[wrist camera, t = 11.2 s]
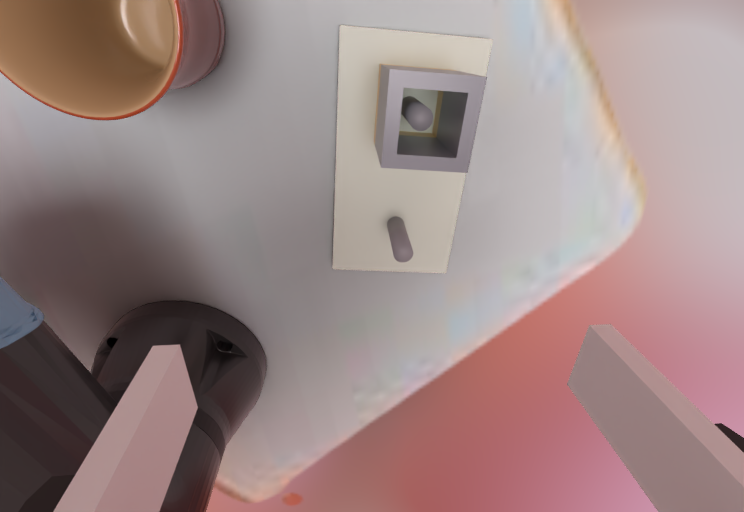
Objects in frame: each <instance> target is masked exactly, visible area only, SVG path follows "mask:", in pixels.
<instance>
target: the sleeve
mask: <svg viewBox="0 0 744 512" xmlns="http://www.w3.org/2000/svg"><path fill="white" fill-rule="evenodd" d="M486 79H487V77H484V76H479V75H475V74H470V73H466V72H461V71H457V70H450V69H438V68H426V67H414V66H402V65H391V64H379V77H378V90H377V103H376V116H375V129H374V144H375V148H376V151H377V155H378V159H379V162H380V166H381V168H393V169H410V170H426V171H443V172H459V173H467V172H468V168H469V163H470V158H471V153H472V148H473V143H474V138H475V133H476V128H477V123H478V118H479V113H480V108H481V104H482V99H483V94H484V89H485V84H486ZM404 88H413V89H426V90H438V97H437V104H436V110H435V117H434V124H433V130H432V133H421V132H407V131H399V128H400V118H401V109H402V100H403V91H404Z"/></svg>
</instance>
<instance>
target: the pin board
mask: <svg viewBox="0 0 744 512" xmlns="http://www.w3.org/2000/svg"><path fill="white" fill-rule="evenodd" d="M492 43H493V39H485V38H475V37H464V36H453V35H442V34H431V33H420V32H410V31H399V30H388V29H377V28H366V27H355V26H345V25H340V34H339V68H338V101H337V134H336V168H335V201H334V235H333V268H332V269H338V270H366V271H393V272H421V273H446V271H447V266H448V261H449V256H450V251H451V246H452V241H453V236H454V231H455V226H456V221H457V216H458V211H459V206H460V201H461V197H462V192H463V187H464V182H465V177H466V173H459V172H443V171H426V170H410V169H393V168H381V166H380V162H379V159H378V155H377V151H376V148H375V144H374V129H375V116H376V103H377V90H378V77H379V64H391V65H402V66H414V67H426V68H438V69H450V70H457V71H461V72H466V73H470V74H475V75H479V76H484V77H486V72H487V68H488V63H489V58H490V53H491V48H492ZM437 97H438V90H426V89H413V88H404V91H403V100H402V109H401V118H400V128H399V131H407V132H421V133H432V130H433V124H434V117H435V110H436V104H437Z"/></svg>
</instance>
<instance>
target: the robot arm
mask: <svg viewBox="0 0 744 512" xmlns="http://www.w3.org/2000/svg"><path fill="white" fill-rule="evenodd" d="M43 319H44V314H43V313H42V312H41V311H40V309H39V308H36V307H35V306H34V305H32V304H30V303H27V302H26V301H25V300H24V299H23V298H22V297H21V296H20V295H19V294H18V293H17V292H16V291H15V290H14V289H13V288H12V287H11V286H10V285H9V284H8V283H6V282H5V281H4V280H3V279H2V278H1V277H0V512H206V510H207V506H208V503H209V500H210V497H211V493H212V490H213V487H214V483H215V480H216V477H217V473H218V470H219V467H220V463H221V460H222V456H223V453H224V450H225V447H226V445H227V443H228V442H229V441H230V439H231V438H232V436H233V435H234V434H235V432H236V431H237V429H238V428H239V426H240V425H241V424H242V422H243V421H244V419H245V418H246V417H247V415H248V414H249V412H250V411H251V409H252V408H253V406H254V405H255V404H256V402H257V400H258V398H259V396H260V393H261V390H262V387H263V383H264V379H265V374H266V359H265V355H264V352H263V349H262V347H261V345H260V344H259V342H258V340H257V339H256V338H255V336H254V335H253V334H252V333H251V332H250V331H249V330H248V329H247V328H246V327H245V326H244V325H242V324H241V323H240V322H239V321H237V320H236V319H234V318H233V317H231V316H229V315H227V314H225V313H223V312H221V311H219V310H216V309H214V308H211V307H208V306H205V305H201V304H196V303H191V302H183V301H163V302H156V303H151V304H147V305H144V306H141V307H138V308H136V309H134V310H132V311H130V312H129V313H127V314H126V315H124V316H123V317H122V318H121V319H120V320H119V321H118V322H117V323H116V324H115V325H114V327H113V328H112V329H111V330H110V331H109V333H108V334H107V335H106V336H105V337H104V339H103V340H102V342H101V344H100V346H99V348H98V350H97V353H96V356H95V359H94V363H93V366H92V369H91V373H90V372H89V371H88V370H87V369H86V368H85V366H84V365H83V364H82V363H81V362H80V361H79V360H78V359H77V357H76V356H75V355H74V354H73V353H72V352H71V351H70V350H69V348H68V347H67V346H66V345H65V344H64V343H63V342H62V341H61V339H60V338H59V337H58V336H57V335H56V334H55V333H54V332H53V330H52V329H51V328H50V327H49V326H48V325H47V324H46V323H45V321H44V320H43ZM567 385H568V386H569V387H570V389H571V390H572V392H573V393H574V395H575V396H576V397H577V399H578V400H579V401H580V403H581V404H582V406H583V407H584V408H585V410H586V411H587V413H588V414H589V416H590V417H591V418H592V420H593V421H594V423H595V424H596V425H597V427H598V428H599V429H600V431H601V432H602V434H603V435H604V436H605V438H606V439H607V441H608V442H609V444H610V445H611V446H612V448H613V449H614V450H615V452H616V453H617V455H618V456H619V457H620V459H621V460H622V462H623V463H624V464H625V466H626V467H627V469H628V470H629V471H630V473H631V474H632V476H633V477H634V478H635V480H636V481H637V483H638V484H639V485H640V487H641V488H642V490H643V491H644V492H645V494H646V495H647V497H648V498H649V499H650V501H651V502H652V503H653V505H654V506H655V508H656V509H657V510H658V512H744V438H743V437H741V436H740V435H738V434H737V433H735V432H734V431H732V430H731V429H729V428H728V427H726V426H724V425H723V424H721V423H720V424H713V423H712V422H711V421H710V420H709V419H708V418H707V417H706V416H705V415H704V414H703V413H702V412H701V411H700V410H699V409H698V408H697V407H696V406H695V405H694V404H693V403H692V402H691V401H689V399H688V398H687V397H685V396H684V395H683V394H682V393H681V392H680V391H679V390H678V389H677V388H676V387H675V386H674V385H673V384H672V383H671V382H670V381H669V380H668V379H667V378H666V377H665V376H664V375H663V374H662V373H661V372H660V371H659V370H658V369H656V368H655V367H654V366H653V365H652V364H651V363H650V362H649V361H648V360H647V359H646V358H645V357H644V356H643V355H642V354H641V353H640V352H639V351H638V350H637V349H636V348H635V347H634V346H633V345H632V344H631V343H630V342H629V341H628V340H627V339H625V338H624V337H623V336H622V335H621V334H620V333H619V332H618V331H617V330H616V329H615V328H614V327H613V326H612V325H611V324H606V325H589V328H588V330H587V333H586V336H585V338H584V341H583V344H582V346H581V349H580V351H579V354H578V357H577V360H576V362H575V365H574V367H573V370H572V373H571V375H570V378H569V381H568V383H567Z"/></svg>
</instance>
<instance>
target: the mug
mask: <svg viewBox="0 0 744 512" xmlns="http://www.w3.org/2000/svg"><path fill="white" fill-rule="evenodd" d="M224 40H225V25H224V18H223V14H222V10H221V7H220V5H219V2H218V0H0V72H1V73H2V74H3V75H4V76H5V77H6V78H8V79H9V80H10V81H11V82H12V83H13V84H15V85H16V86H17V87H19V88H20V89H21V90H23V91H24V92H25V93H27V94H28V95H30V96H32V97H33V98H35V99H36V100H38V101H40V102H42V103H43V104H45V105H47V106H49V107H52V108H54V109H56V110H58V111H61V112H64V113H66V114H69V115H73V116H76V117H81V118H86V119H93V120H118V119H123V118H128V117H131V116H134V115H137V114H139V113H141V112H143V111H145V110H146V109H148V108H150V107H151V106H153V105H154V104H155V103H156V102H158V101H159V100H160V99H161V98H162V97H163V96H164V94H165V93H166V92H167V90H171V89H180V88H185V87H188V86H191V85H193V84H195V83H197V82H198V81H200V80H201V79H202V78H204V77H205V76H207V75H208V74H209V73H210V72H211V71H212V70H213V69H214V68H215V67H216V65H217V64H218V62H219V58H220V56H221V53H222V50H223V46H224Z"/></svg>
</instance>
